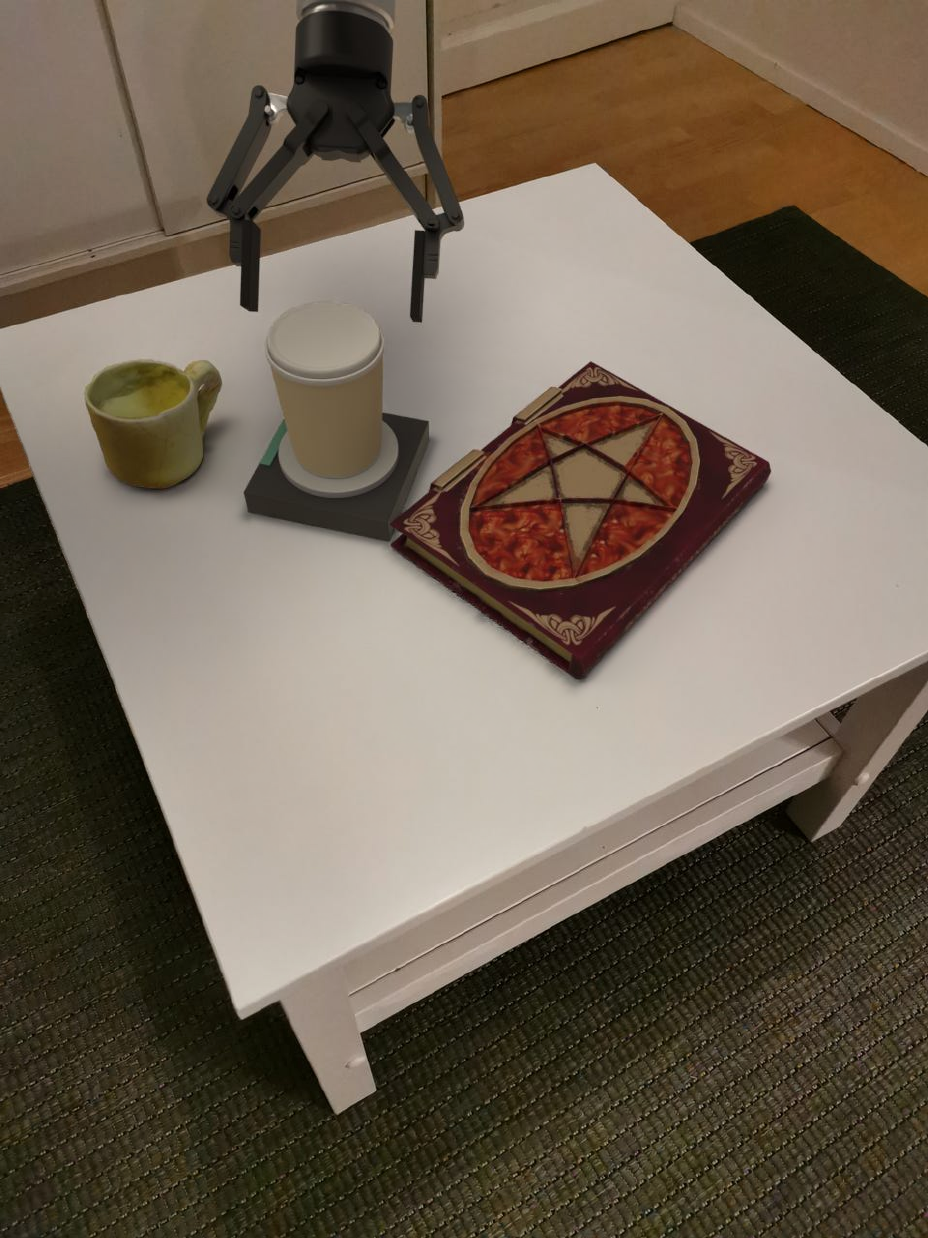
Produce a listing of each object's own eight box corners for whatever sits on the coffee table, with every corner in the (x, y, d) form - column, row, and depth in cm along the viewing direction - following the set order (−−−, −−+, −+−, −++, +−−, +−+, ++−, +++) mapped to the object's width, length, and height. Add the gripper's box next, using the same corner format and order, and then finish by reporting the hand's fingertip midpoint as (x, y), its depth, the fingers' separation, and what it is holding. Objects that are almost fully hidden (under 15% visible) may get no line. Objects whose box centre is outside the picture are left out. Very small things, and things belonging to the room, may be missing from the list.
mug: (120, 511, 78) (96, 397, 73) (88, 471, 85) (63, 364, 80) (255, 479, 84) (242, 371, 78) (214, 444, 91) (199, 343, 86)
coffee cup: (410, 436, 82) (406, 322, 72) (350, 501, 77) (337, 388, 68) (325, 399, 85) (311, 285, 75) (262, 460, 80) (238, 346, 70)
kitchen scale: (248, 512, 81) (241, 485, 78) (299, 415, 88) (295, 388, 86) (389, 541, 79) (387, 515, 76) (429, 440, 87) (429, 414, 84)
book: (580, 686, 71) (589, 651, 67) (383, 544, 79) (382, 505, 75) (763, 489, 84) (780, 450, 80) (579, 383, 92) (587, 343, 88)
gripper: (505, 60, 74) (486, 331, 77) (201, 42, 75) (195, 312, 78) (506, 13, 67) (485, 315, 70) (168, -5, 67) (163, 295, 71)
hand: (332, 314), depth 74 cm, fingers open, 13 cm apart
